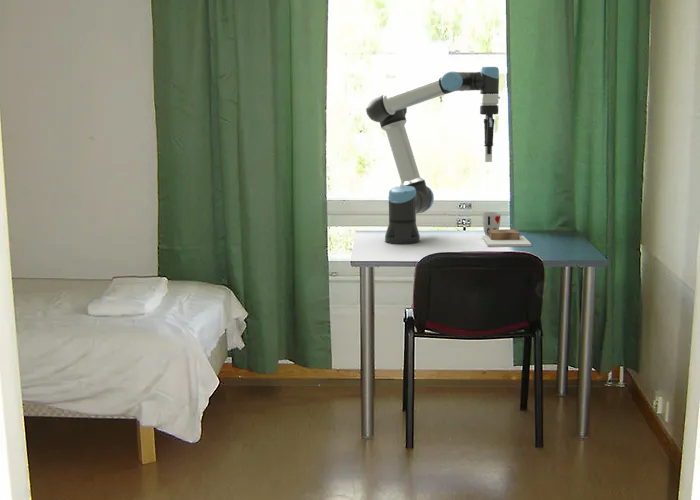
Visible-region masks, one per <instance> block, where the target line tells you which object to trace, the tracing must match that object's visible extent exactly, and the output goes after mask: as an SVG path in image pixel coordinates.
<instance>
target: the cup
mask: <svg viewBox="0 0 700 500" xmlns="http://www.w3.org/2000/svg"><path fill="white" fill-rule="evenodd" d="M481 214H482V215H481V216H482V227H483V231H484V232H483V233H484V235H485V236H486V235H487V236H489V230H500V226H501V217H502V216H501V215H502V214H501V212H495V211H488V212H487V211H486V212H482V213H481Z"/></svg>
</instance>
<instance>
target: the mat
mask: <svg viewBox="0 0 700 500" xmlns="http://www.w3.org/2000/svg"><path fill="white" fill-rule="evenodd" d="M481 239H482V240H484V241H483V242H484V243H485V245H486V246H487V248H488V247H489V248H490V247H491V248H492V247H493V248H494V247H496V248H497V247H499V248H500V247H502V248H503V247H506V248H507V247H508V248H509V247H532V246H533V245H532V243H531V242H530V241H529V240H528V239H527V238H526V237H525V236H524V235H520V240H491V239H490V238H489V236H486V235H485V236H484V235H482V236H481Z"/></svg>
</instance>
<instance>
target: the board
mask: <svg viewBox="0 0 700 500" xmlns="http://www.w3.org/2000/svg"><path fill="white" fill-rule="evenodd" d="M520 236H521V235H520V232H519V230H517V229H510V228H509V229H508V228H507V229H499V230H489V238H490V239H491V240H520Z"/></svg>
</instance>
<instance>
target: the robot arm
mask: <svg viewBox="0 0 700 500" xmlns="http://www.w3.org/2000/svg"><path fill="white" fill-rule="evenodd" d="M499 70H500V69H499V67H498V66H481V67H480V71H476V72H475V71H474V72H473V71H469V72H468V71H465V72H463V71H449V72H445V74H442V75H440V76H438V77H435V78H433V79H429V80H427V81H424V82H423V81H422V82H421V83H418V84H416V85H413V86H410V87H407V88H403V89H401V90H398V91H395V92H393V93H389V92H385V93H382V94H380V95H379V94H378V95H375V96H372V97H371V98H369V99H368V101H367V103H366V105H365V112H366V114H367V116H368V117H369V119H370V120H371V121H373V122H375V123H379V124H380V127H381V130H383V131H385V133H386V137H387V140H388V142H389V146H390V148H391V149H390V150H391V152H392V156H393V159H394V162H395V166H396V168H397V172H398V175H399V179H400V182H401V183H400V186H395V187H392V188H391V189H389V190H388V191H389V192H388V198H387V199H388V226H387V229H386V232H385V235H384V242H386V243H389V244H398V245H400V244H401V245H409V244H417V243H419V242H420V241H421V235H420V232H419V229H418V226H417V215H418V214H422V213H425V212H426V211H428V210H429V209H431V207H432V206H433V203H434V193H433V191H432V189H431V188H430V187H428V185H427V184H426V181H425V179H424V178H422V177H421V176H420V173H419V170H418V166H417V163H416V159H415V156H414V153H413V149H412V147H411V143H410V139H409V137H408V133H407V130H406V127H405V126H406V123H407V118H406V115H407V113H408V112H407V111H408V107H412V106H415V105H417V104H421V103H424V102H426V101H429V100H433V99H435V98H436V99H437V98H439V97H440V96H444V95H447V94H451V93H454V92H464V91H465V92H466V91H467V92H468V91H480V93H479V103H480V106H479V115H481V116H482V115H484V116H485V117H484V119H483V124H484V126H483V127H484V145H483V146H484V148H485V149H484V163H492V162H493V146H494V129H495V128H494V127H495V119H494V115H498V114H499V105H498V104H499V100H500V99H501V97H500V96H499V91H500V90H499V87H500V71H499Z"/></svg>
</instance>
